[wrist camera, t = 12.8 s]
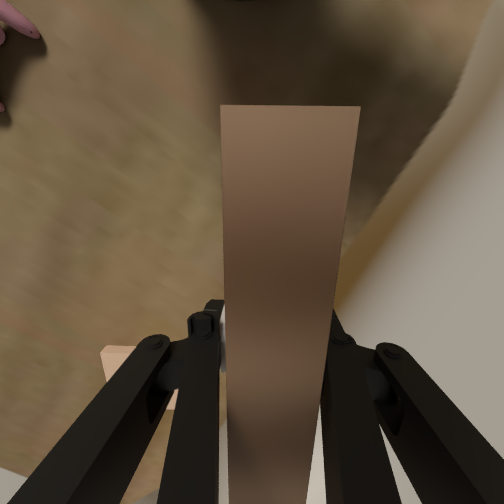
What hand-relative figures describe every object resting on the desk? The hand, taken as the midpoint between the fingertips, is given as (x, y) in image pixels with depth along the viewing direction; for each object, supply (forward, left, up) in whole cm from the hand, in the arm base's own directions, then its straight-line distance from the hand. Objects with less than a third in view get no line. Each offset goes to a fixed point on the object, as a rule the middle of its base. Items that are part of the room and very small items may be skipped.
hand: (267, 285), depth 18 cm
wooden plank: (0, 0, 0) cm, 0 cm away
